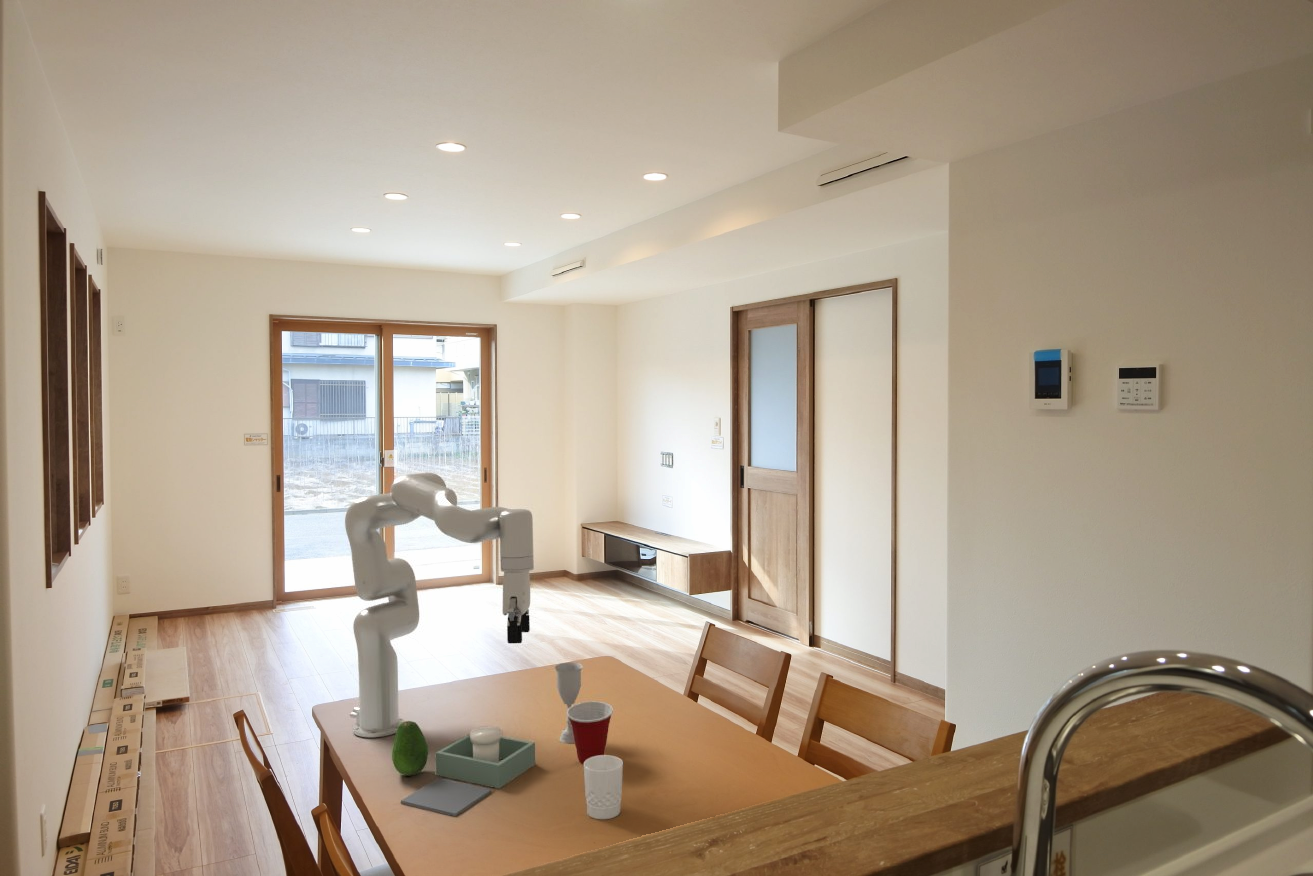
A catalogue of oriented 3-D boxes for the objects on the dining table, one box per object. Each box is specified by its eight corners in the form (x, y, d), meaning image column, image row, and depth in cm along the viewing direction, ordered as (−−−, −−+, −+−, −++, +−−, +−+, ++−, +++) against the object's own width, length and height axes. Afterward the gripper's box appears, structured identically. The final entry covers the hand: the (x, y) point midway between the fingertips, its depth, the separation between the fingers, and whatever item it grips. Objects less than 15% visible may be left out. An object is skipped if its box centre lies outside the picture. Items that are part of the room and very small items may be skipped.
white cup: (584, 803, 174) (583, 755, 174) (622, 802, 175) (622, 754, 174) (584, 822, 166) (583, 772, 166) (624, 820, 167) (623, 770, 167)
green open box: (435, 774, 188) (435, 752, 188) (474, 752, 201) (474, 731, 201) (499, 788, 181) (498, 765, 181) (535, 764, 194) (535, 742, 194)
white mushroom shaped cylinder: (464, 772, 190) (463, 734, 189) (483, 761, 196) (482, 724, 196) (489, 778, 187) (489, 739, 186) (508, 766, 193) (507, 729, 193)
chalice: (578, 746, 204) (577, 672, 204) (551, 744, 206) (550, 670, 205) (587, 734, 212) (586, 663, 211) (561, 732, 213) (560, 661, 212)
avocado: (390, 771, 191) (389, 718, 190) (426, 765, 194) (425, 713, 193) (394, 785, 183) (393, 730, 183) (431, 778, 186) (430, 725, 186)
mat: (400, 803, 175) (400, 800, 175) (439, 780, 186) (438, 777, 186) (455, 816, 169) (455, 813, 169) (491, 792, 180) (491, 789, 180)
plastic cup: (558, 766, 193) (558, 714, 192) (579, 748, 203) (578, 699, 202) (602, 773, 189) (602, 719, 189) (621, 754, 199) (620, 704, 199)
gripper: (508, 557, 203) (510, 628, 204) (492, 570, 186) (494, 647, 186) (539, 557, 203) (541, 628, 203) (526, 569, 186) (528, 647, 186)
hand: (518, 637), depth 195 cm, fingers open, 9 cm apart
